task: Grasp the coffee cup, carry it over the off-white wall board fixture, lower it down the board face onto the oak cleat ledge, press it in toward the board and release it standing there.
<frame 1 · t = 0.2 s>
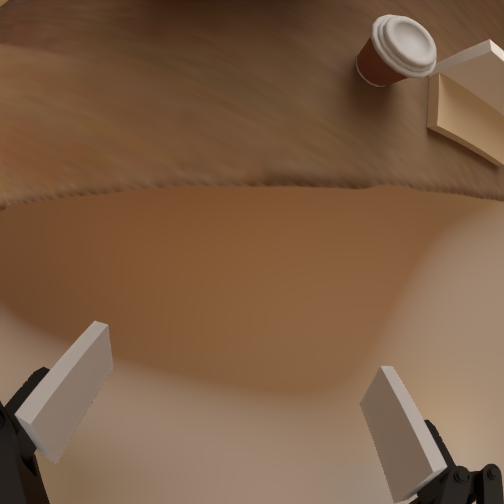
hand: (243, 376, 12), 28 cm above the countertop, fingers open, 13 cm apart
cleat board: (468, 90, 30), on the countertop
coffee cup: (374, 68, 31), on the countertop
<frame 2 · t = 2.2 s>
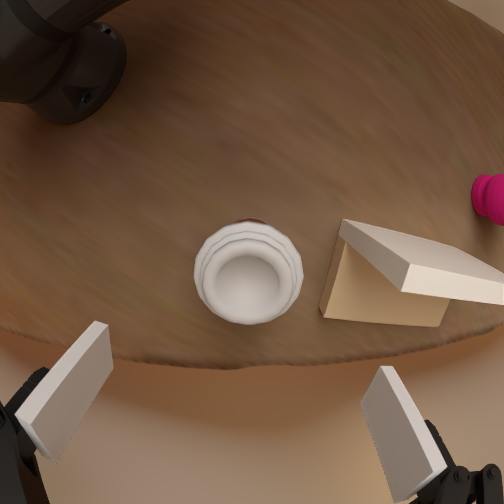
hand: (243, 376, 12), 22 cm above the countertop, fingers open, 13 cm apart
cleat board: (406, 233, 32), on the countertop
coffee cup: (250, 243, 33), on the countertop
pepper mill: (482, 194, 30), on the countertop
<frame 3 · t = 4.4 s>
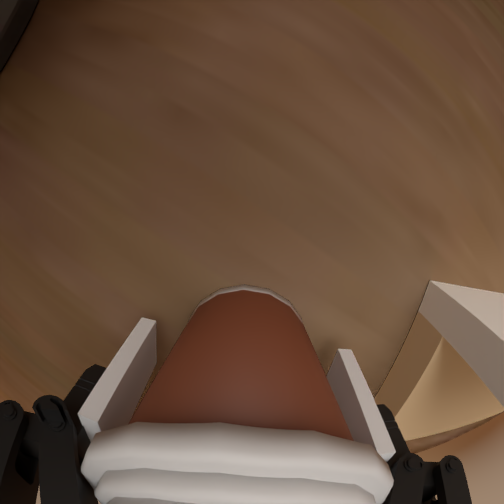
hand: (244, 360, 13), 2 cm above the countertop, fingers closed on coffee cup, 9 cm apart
coffee cup: (245, 335, 15), on the countertop, touching gripper
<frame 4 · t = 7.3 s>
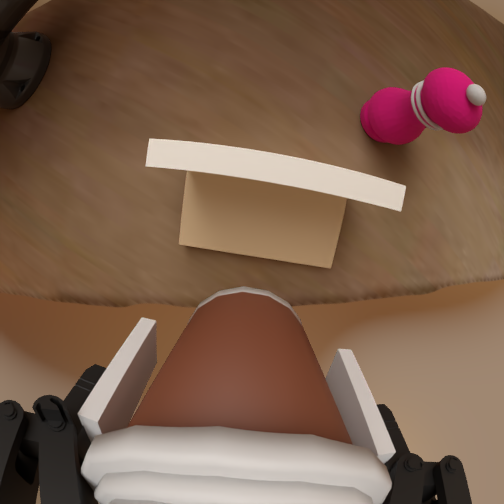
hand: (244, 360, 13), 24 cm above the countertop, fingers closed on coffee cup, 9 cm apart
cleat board: (271, 161, 33), on the countertop
coffee cup: (245, 337, 15), point 22 cm above the countertop, touching gripper
pepper mill: (380, 120, 31), on the countertop
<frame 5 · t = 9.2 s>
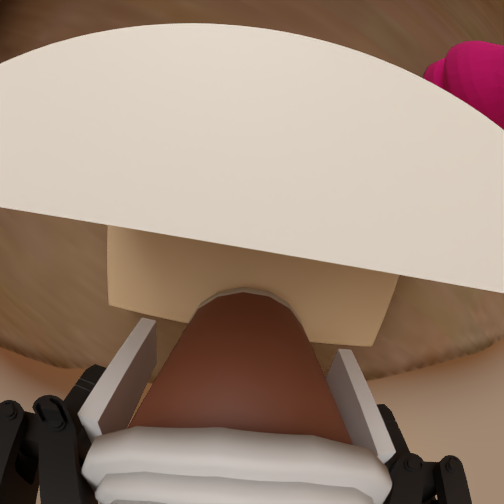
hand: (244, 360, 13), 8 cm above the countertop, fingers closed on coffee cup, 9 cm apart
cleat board: (273, 152, 17), on the countertop
coffee cup: (245, 337, 15), point 5 cm above the countertop, touching gripper
pepper mill: (449, 97, 15), on the countertop
when the fingers open (6 cm above the countertop, at t = 10.6 s): coffee cup stays where it is, resting on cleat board.
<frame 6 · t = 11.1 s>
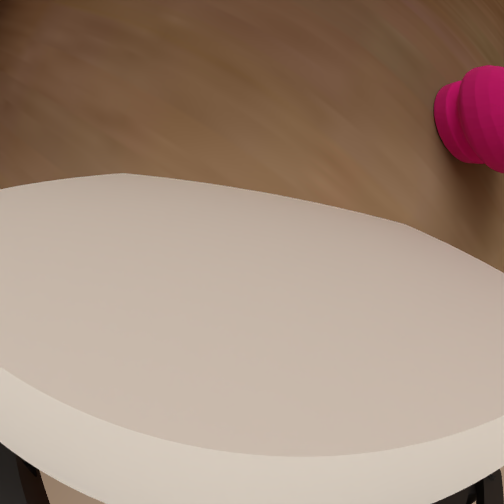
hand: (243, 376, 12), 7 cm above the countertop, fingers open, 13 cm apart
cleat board: (268, 193, 16), on the countertop
pepper mill: (460, 123, 14), on the countertop
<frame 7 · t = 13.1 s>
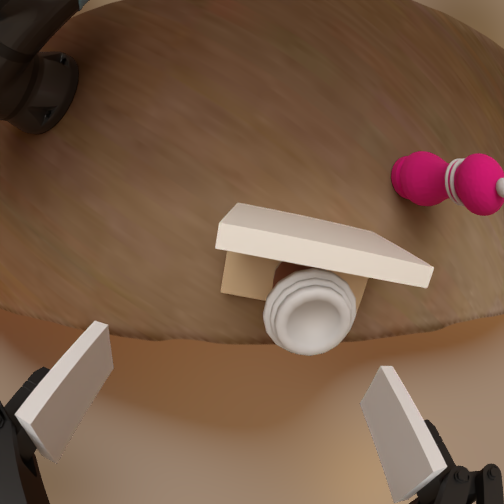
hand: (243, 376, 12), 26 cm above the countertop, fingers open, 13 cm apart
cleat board: (308, 216, 36), on the countertop
coffee cup: (298, 277, 35), point 3 cm above the countertop, touching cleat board
pepper mill: (408, 177, 34), on the countertop
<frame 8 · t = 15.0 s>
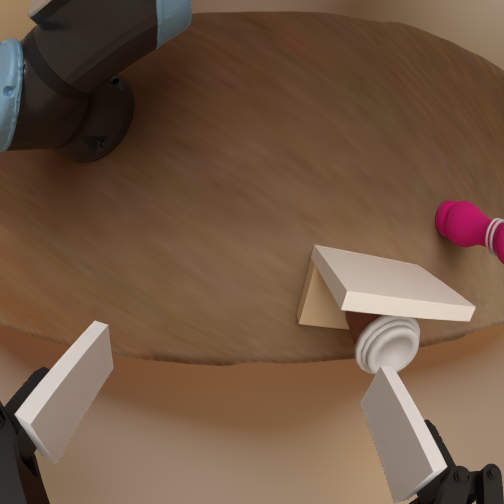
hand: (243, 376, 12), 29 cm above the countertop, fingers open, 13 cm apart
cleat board: (371, 255, 40), on the countertop
coffee cup: (363, 307, 39), point 3 cm above the countertop, touching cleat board
pepper mill: (447, 218, 38), on the countertop
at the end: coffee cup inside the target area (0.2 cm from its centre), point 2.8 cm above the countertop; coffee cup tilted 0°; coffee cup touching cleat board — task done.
